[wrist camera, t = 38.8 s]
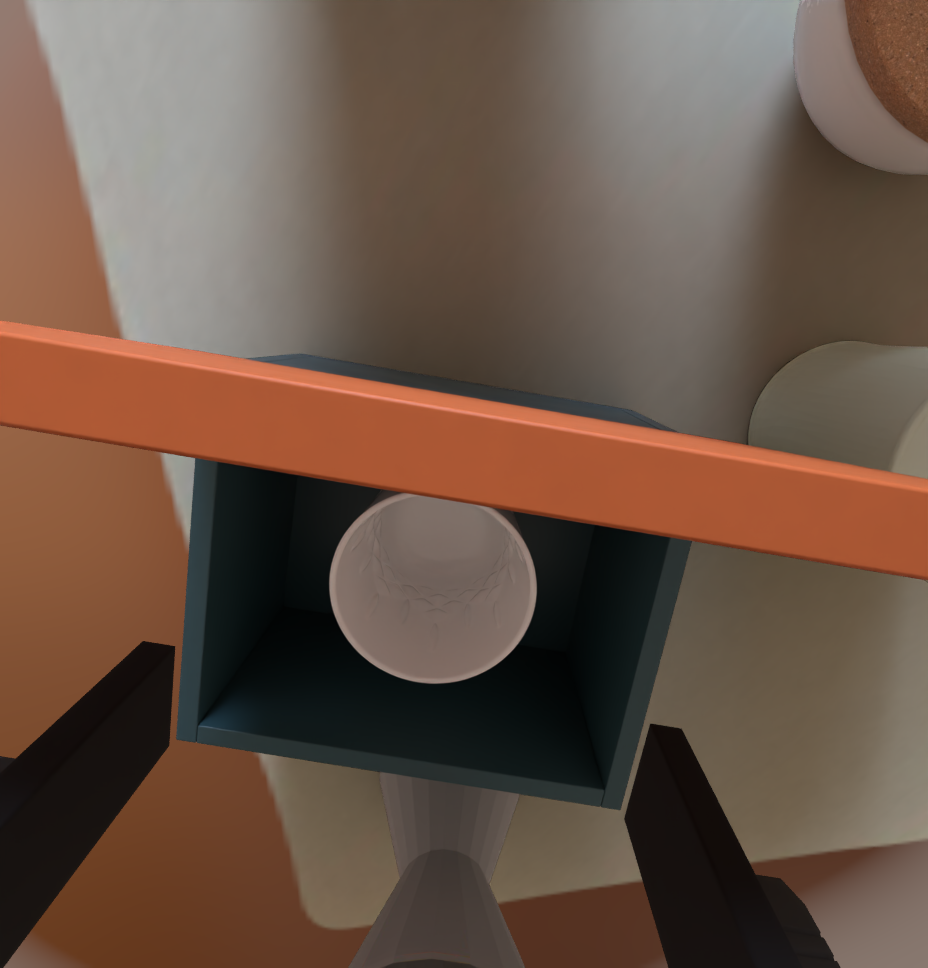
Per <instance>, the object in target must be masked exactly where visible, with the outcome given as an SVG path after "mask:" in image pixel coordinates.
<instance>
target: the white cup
mask: <svg viewBox="0 0 928 968" xmlns="http://www.w3.org/2000/svg"><path fill="white" fill-rule="evenodd" d="M329 590H330V599H331V604H332V608H333V612H334V615H335V618H336V620H337V622H338V625H339V627H340V629H341V630H342V632H343V634H344V635H345V637H346V638H347V640H348V641H349V642H350V644H351V645H352V646H353V647H354V648H355V649H356V651H357V652H358V653H359V654H361V655H362V656H363V657H364V658H365V659H366V660H368V661H369V662H370V663H372V664H373V665H375V666H376V667H378V668H379V669H381V670H383V671H385V672H387V673H389V674H391V675H394V676H396V677H399V678H402V679H405V680H409V681H414V682H420V683H432V684H438V683H450V682H456V681H461V680H465V679H468V678H471V677H474V676H476V675H479V674H481V673H483V672H485V671H487V670H489V669H490V668H492V667H493V666H495V665H496V664H498V663H499V662H500V661H502V660H503V659H504V658H505V657H506V656H507V655H508V654H509V653H510V652H511V651H512V650H513V649H514V648H515V647H516V646H517V644H518V643H519V642H520V640H521V639H522V637H523V636H524V634H525V632H526V630H527V628H528V626H529V624H530V621H531V619H532V616H533V612H534V609H535V604H536V595H537V581H536V573H535V568H534V564H533V560H532V557H531V555H530V552H529V550H528V547H527V544H526V542H525V539H524V536H523V534H522V531H521V528H520V525H519V523H518V520H517V518H516V516H515V513H514V511H509V510H503V509H497V508H491V507H485V506H479V505H473V504H467V503H461V502H455V501H449V500H443V499H437V498H431V497H425V496H420V495H414V494H408V493H402V492H396V491H390V490H384V489H382V490H381V491H380V493H379V494H378V495H377V496H376V497H375V499H374V500H373V501H372V502H371V503H370V504H369V505H368V506H367V508H366V509H365V510H364V511H363V512H362V513H361V514H360V516H359V517H358V518H357V519H356V520H355V521H354V522H353V523H352V525H351V526H350V527H349V528H348V530H347V531H346V532H345V534H344V536H343V537H342V539H341V541H340V543H339V545H338V547H337V549H336V551H335V554H334V557H333V561H332V565H331V570H330V578H329Z"/></svg>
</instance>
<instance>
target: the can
mask: <svg viewBox="0 0 928 968" xmlns="http://www.w3.org/2000/svg"><path fill="white" fill-rule="evenodd" d="M748 445H750V446H756V447H761V448H766V449H772V450H777V451H782V452H787V453H793V454H798V455H803V456H809V457H814V458H819V459H825V460H830V461H835V462H841V463H846V464H851V465H857V466H862V467H867V468H872V469H878V470H883V471H888V472H894V473H899V474H904V475H910V476H915V477H920V478H926V479H928V347H919V346H887V345H876V344H872V343H868V342H861V341H841V342H834V343H829V344H825V345H822V346H819V347H816V348H813V349H811V350H809V351H807V352H805V353H803V354H801V355H799V356H798V357H796V358H795V359H793V360H792V361H790V362H789V363H787V364H786V365H785V366H784V367H783V368H782V369H781V370H780V371H778V372H777V373H776V374H775V376H774V377H773V378H772V379H771V380H770V381H769V383H768V384H767V385H766V387H765V388H764V389H763V391H762V393H761V395H760V396H759V398H758V400H757V403H756V405H755V407H754V410H753V413H752V416H751V420H750V424H749V431H748ZM925 581H926V582H928V580H925Z"/></svg>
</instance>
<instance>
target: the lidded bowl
mask: <svg viewBox="0 0 928 968" xmlns="http://www.w3.org/2000/svg"><path fill="white" fill-rule="evenodd" d="M793 62H794V69H795V75H796V82H797V86H798V89H799V92H800V95H801V99H802V102H803V104H804V106H805V108H806V110H807V112H808V114H809V116H810V118H811V120H812V122H813V123H814V124H815V126H816V127H817V128H818V130H819V131H820V132H821V134H822V135H823V137H824V138H826V139H827V140H828V141H829V142H830V143H831V144H832V145H833V146H834V147H835V148H836V149H837V150H839V151H840V152H842V153H843V154H845V155H847V156H848V157H850V158H851V159H853V160H855V161H857V162H860V163H862V164H865V165H867V166H870V167H873V168H876V169H879V170H883V171H888V172H893V173H897V174H913V175H928V0H800V2H799V7H798V11H797V16H796V24H795V31H794V39H793Z"/></svg>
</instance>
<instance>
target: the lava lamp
mask: <svg viewBox="0 0 928 968" xmlns="http://www.w3.org/2000/svg"><path fill="white" fill-rule="evenodd" d="M380 784H381V789H382V794H383V799H384V804H385V808H386V813H387V818H388V823H389V828H390V833H391V838H392V842H393V847H394V852H395V857H396V862H397V867H398V872H399V876H400V880H399V881H398V883H397V885H396V887H395V888H394V890H393V892H392V893H391V895H390V897H389V899H388V900H387V902H386V904H385V905H384V907H383V909H382V911H381V912H380V914H379V916H378V917H377V919H376V921H375V923H374V924H373V926H372V928H371V929H370V931H369V933H368V935H367V936H366V938H365V940H364V941H363V943H362V945H361V947H360V948H359V950H358V952H357V953H356V955H355V957H354V959H353V960H352V962H351V964H350V966H349V967H348V968H525V966H524V964H523V961H522V959H521V957H520V954H519V952H518V950H517V948H516V945H515V943H514V941H513V938H512V936H511V934H510V931H509V929H508V927H507V925H506V922H505V920H504V918H503V915H502V913H501V911H500V908H499V906H498V904H497V901H496V899H495V897H494V894H493V892H492V890H491V888H490V885H489V884H490V881H491V878H492V875H493V872H494V869H495V866H496V863H497V860H498V857H499V855H500V852H501V849H502V846H503V843H504V840H505V837H506V834H507V831H508V828H509V825H510V822H511V820H512V817H513V814H514V811H515V808H516V805H517V802H518V799H519V794H516V793H509V792H503V791H497V790H491V789H484V788H478V787H472V786H465V785H459V784H453V783H446V782H440V781H434V780H428V779H421V778H415V777H409V776H402V775H396V774H390V773H384V772H380Z"/></svg>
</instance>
